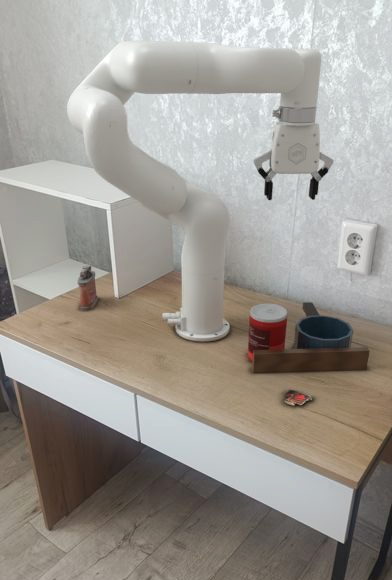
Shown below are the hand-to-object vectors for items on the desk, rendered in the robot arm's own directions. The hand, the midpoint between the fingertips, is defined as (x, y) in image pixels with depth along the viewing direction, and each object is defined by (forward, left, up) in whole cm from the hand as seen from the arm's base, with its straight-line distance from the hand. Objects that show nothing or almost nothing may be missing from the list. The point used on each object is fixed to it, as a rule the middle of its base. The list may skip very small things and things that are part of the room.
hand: (290, 198), depth 125 cm
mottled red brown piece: (-4, -38, -28) cm, 47 cm away
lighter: (-48, +8, -28) cm, 56 cm away
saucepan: (+5, -16, -28) cm, 33 cm away
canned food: (-8, -22, -28) cm, 37 cm away
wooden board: (+1, -27, -28) cm, 39 cm away
